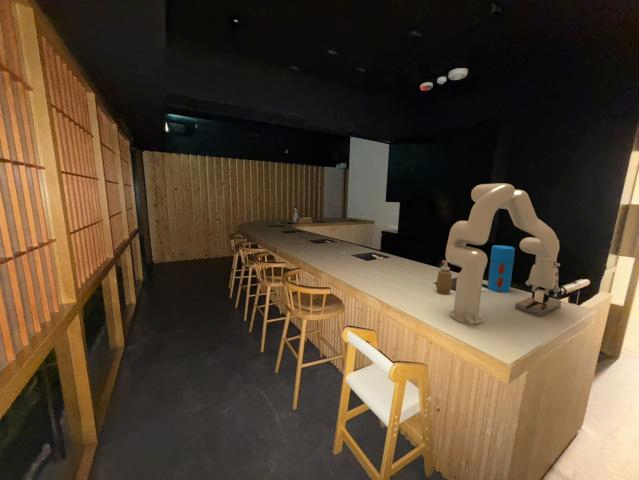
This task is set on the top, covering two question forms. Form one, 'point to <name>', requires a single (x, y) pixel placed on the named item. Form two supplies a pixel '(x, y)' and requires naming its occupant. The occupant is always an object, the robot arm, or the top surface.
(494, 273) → the thermos
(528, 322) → the top surface
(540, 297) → the fader
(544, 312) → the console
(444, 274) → the squeeze bottle
